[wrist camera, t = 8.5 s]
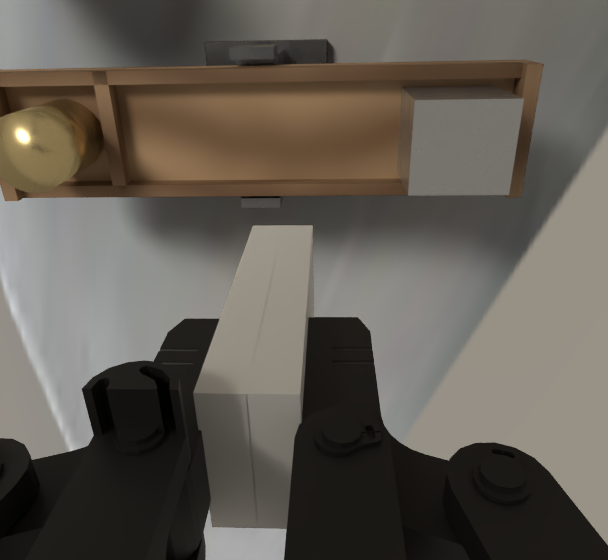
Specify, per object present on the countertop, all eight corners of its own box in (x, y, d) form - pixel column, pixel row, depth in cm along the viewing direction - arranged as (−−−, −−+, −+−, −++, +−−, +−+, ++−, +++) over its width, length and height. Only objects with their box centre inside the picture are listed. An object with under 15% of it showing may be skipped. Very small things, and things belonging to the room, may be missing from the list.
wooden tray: (-2, 69, 31) (-31, 74, 28) (525, 59, 29) (543, 64, 27) (29, 187, 34) (5, 200, 31) (506, 183, 32) (520, 197, 30)
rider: (401, 86, 29) (414, 100, 25) (494, 85, 29) (524, 98, 24) (396, 169, 31) (408, 195, 27) (483, 168, 31) (509, 195, 26)
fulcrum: (207, 41, 36) (177, 48, 29) (326, 39, 35) (326, 45, 28) (219, 173, 40) (195, 208, 33) (326, 172, 39) (326, 207, 32)
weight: (27, 99, 30) (-25, 113, 26) (96, 98, 30) (55, 112, 26) (45, 168, 32) (-2, 193, 28) (109, 167, 32) (74, 192, 27)
